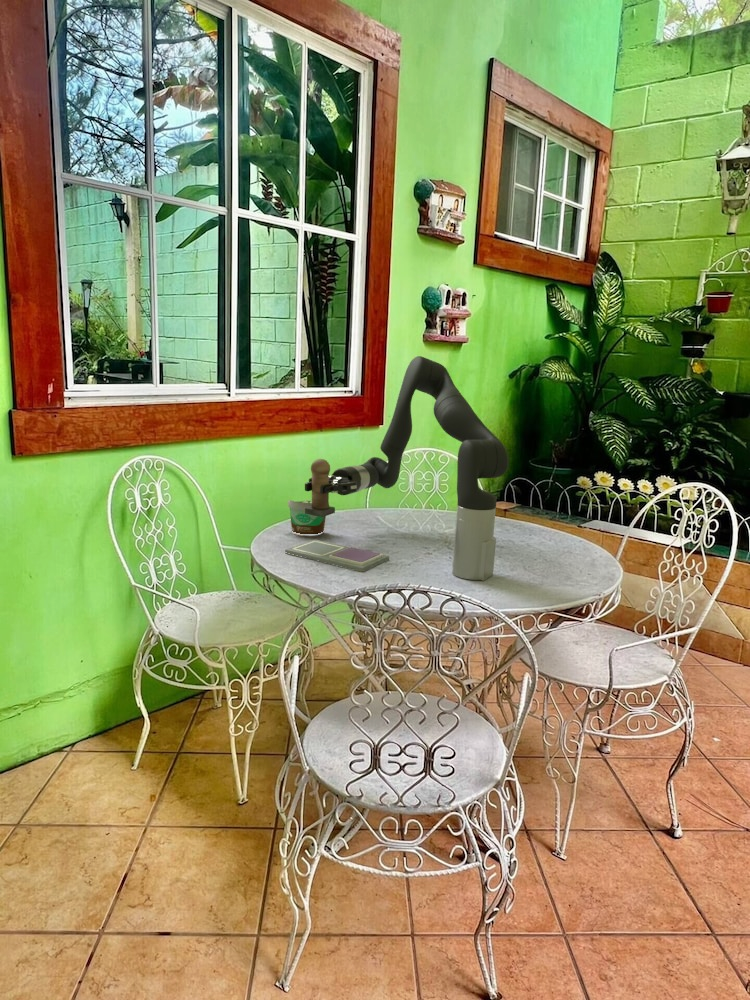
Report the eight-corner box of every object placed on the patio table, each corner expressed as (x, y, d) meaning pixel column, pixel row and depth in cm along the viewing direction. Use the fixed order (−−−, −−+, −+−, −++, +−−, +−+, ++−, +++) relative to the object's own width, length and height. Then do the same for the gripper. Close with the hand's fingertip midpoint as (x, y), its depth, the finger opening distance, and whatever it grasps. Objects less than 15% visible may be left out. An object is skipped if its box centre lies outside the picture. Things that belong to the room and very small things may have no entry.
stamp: (334, 512, 170) (335, 458, 167) (322, 517, 166) (323, 461, 162) (317, 509, 173) (318, 456, 170) (305, 513, 168) (305, 459, 165)
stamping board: (389, 559, 168) (389, 552, 167) (362, 571, 157) (362, 564, 156) (315, 542, 180) (315, 536, 179) (285, 553, 169) (285, 546, 168)
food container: (284, 536, 185) (285, 502, 182) (286, 531, 191) (287, 498, 188) (327, 538, 185) (328, 504, 183) (328, 532, 191) (329, 499, 189)
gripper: (330, 463, 182) (292, 470, 168) (373, 469, 175) (336, 478, 161) (329, 489, 184) (291, 498, 170) (371, 496, 177) (336, 507, 162)
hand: (313, 488), depth 165 cm, fingers closed on stamp, 4 cm apart
